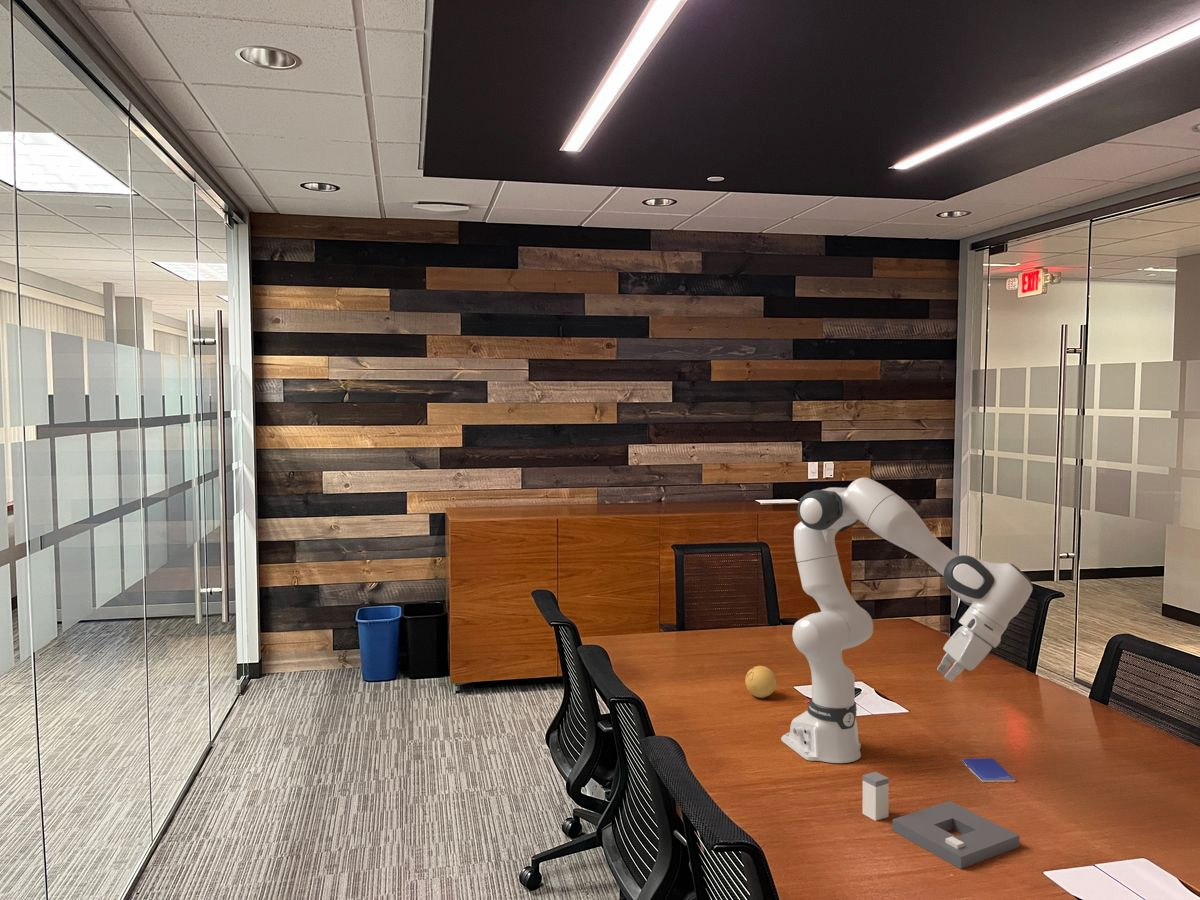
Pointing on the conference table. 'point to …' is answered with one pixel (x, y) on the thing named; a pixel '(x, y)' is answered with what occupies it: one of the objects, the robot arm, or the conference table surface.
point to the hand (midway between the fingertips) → (943, 675)
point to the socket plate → (962, 850)
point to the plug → (875, 796)
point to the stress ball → (760, 681)
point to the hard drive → (988, 770)
